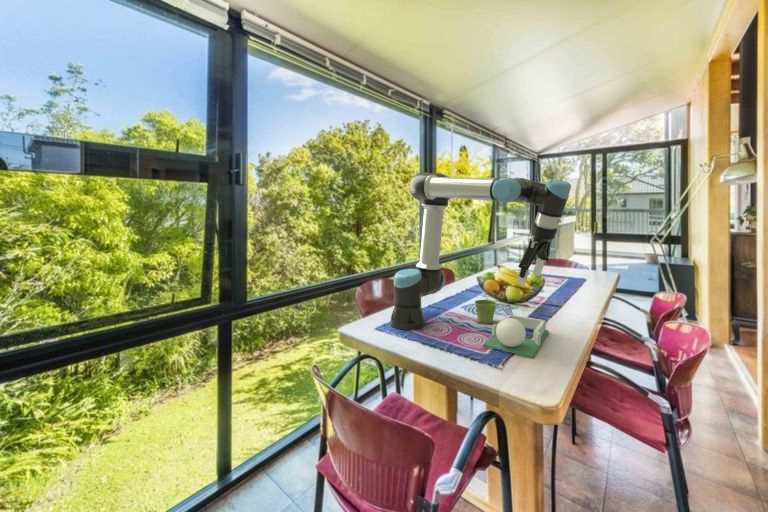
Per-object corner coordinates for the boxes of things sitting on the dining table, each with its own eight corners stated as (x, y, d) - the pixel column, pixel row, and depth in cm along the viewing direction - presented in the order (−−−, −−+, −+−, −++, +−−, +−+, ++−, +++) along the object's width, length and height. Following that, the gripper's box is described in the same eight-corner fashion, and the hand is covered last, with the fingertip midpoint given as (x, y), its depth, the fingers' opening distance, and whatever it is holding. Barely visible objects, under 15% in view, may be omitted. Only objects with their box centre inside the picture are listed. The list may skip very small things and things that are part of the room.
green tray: (482, 346, 124) (482, 333, 123) (504, 324, 146) (505, 313, 145) (533, 358, 114) (534, 344, 113) (549, 332, 136) (549, 320, 135)
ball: (491, 347, 121) (492, 320, 119) (500, 338, 129) (501, 312, 127) (521, 354, 115) (522, 325, 113) (528, 344, 123) (529, 317, 121)
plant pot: (497, 325, 145) (498, 306, 143) (474, 324, 147) (475, 305, 145) (495, 318, 154) (495, 300, 152) (473, 317, 156) (474, 299, 154)
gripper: (541, 236, 107) (522, 293, 116) (570, 223, 123) (551, 274, 132) (519, 228, 112) (502, 284, 120) (549, 217, 128) (533, 267, 137)
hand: (528, 279), depth 126 cm, fingers open, 13 cm apart
